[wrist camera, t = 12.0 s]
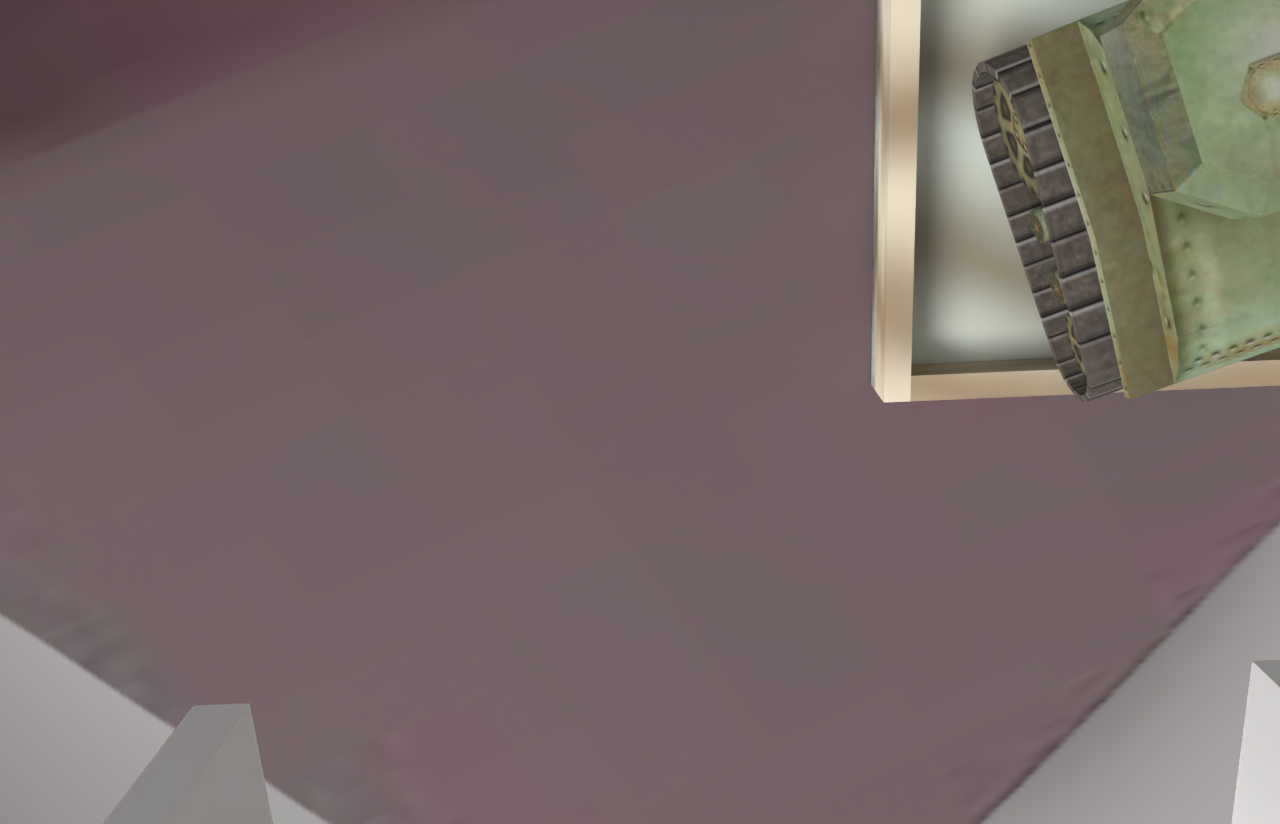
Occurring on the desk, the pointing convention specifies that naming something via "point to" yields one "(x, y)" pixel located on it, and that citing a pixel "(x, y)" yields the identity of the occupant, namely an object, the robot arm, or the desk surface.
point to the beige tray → (962, 216)
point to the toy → (1144, 186)
